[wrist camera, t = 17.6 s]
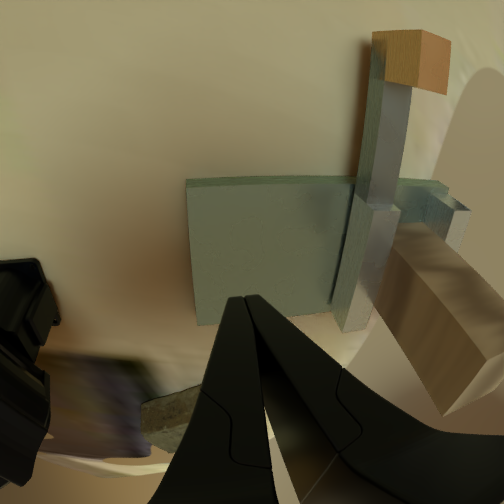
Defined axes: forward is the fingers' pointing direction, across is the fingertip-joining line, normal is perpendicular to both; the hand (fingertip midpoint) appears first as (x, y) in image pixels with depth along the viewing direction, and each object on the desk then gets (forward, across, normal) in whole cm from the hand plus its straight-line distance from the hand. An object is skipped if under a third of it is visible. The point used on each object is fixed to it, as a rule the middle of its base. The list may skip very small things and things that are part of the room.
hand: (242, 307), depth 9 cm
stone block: (+13, +3, +25) cm, 29 cm away
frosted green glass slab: (+13, -8, +6) cm, 16 cm away
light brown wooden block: (+11, -10, +1) cm, 15 cm away
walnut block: (+11, -14, +6) cm, 19 cm away
